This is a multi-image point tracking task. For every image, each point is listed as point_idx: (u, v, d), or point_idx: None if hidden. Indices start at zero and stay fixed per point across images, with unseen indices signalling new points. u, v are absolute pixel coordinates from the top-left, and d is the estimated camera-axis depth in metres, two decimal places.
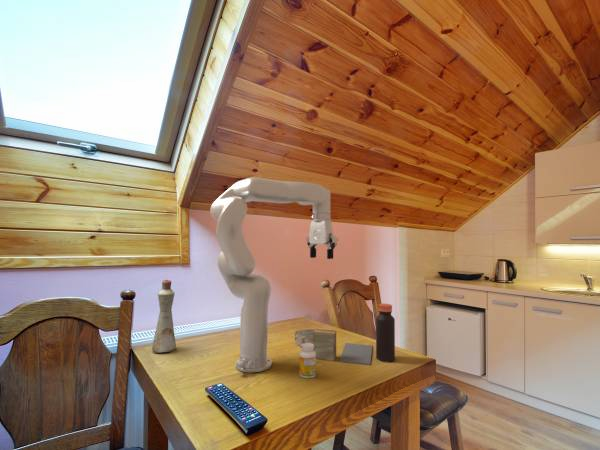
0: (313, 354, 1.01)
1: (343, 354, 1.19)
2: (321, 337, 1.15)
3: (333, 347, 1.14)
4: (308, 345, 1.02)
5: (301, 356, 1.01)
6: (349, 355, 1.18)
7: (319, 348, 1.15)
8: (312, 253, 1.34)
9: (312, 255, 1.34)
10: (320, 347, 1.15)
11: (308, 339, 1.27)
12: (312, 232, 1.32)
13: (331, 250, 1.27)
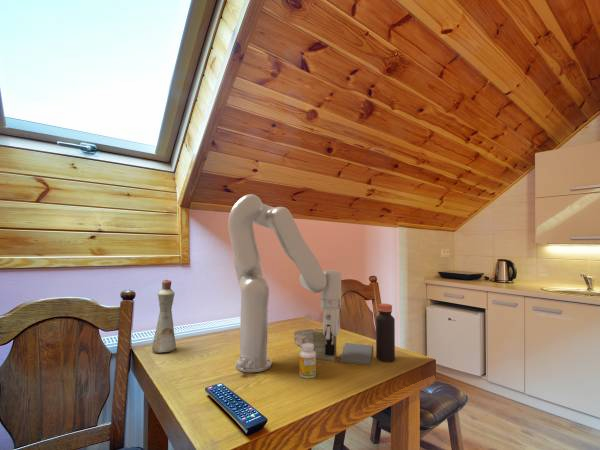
0: (313, 354, 1.01)
1: (343, 354, 1.19)
2: (321, 337, 1.15)
3: None
4: (308, 345, 1.02)
5: (301, 356, 1.01)
6: (349, 355, 1.18)
7: (319, 348, 1.15)
8: None
9: None
10: (320, 347, 1.15)
11: (309, 339, 1.27)
12: (337, 322, 1.14)
13: None
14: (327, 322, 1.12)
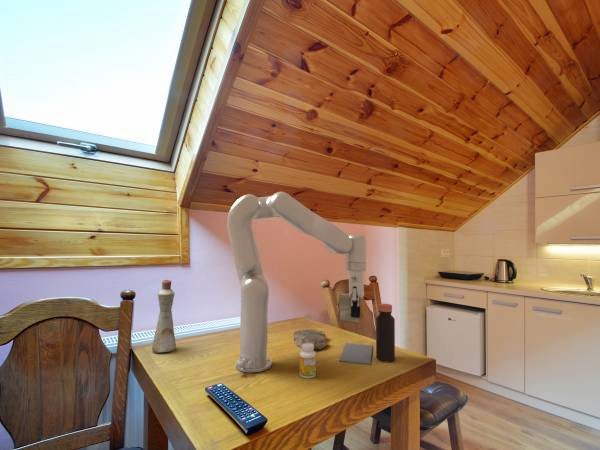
0: (313, 354, 1.01)
1: (343, 354, 1.19)
2: (347, 300, 1.17)
3: None
4: (308, 345, 1.02)
5: (301, 356, 1.01)
6: (349, 355, 1.18)
7: (345, 310, 1.17)
8: None
9: None
10: (346, 309, 1.16)
11: (309, 339, 1.27)
12: (362, 284, 1.15)
13: None
14: (353, 284, 1.13)
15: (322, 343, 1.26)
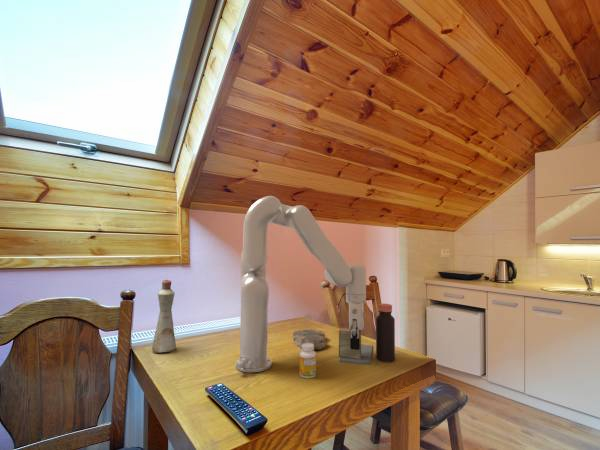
0: (313, 354, 1.01)
1: None
2: (347, 335, 1.16)
3: (359, 345, 1.15)
4: (308, 345, 1.02)
5: (301, 356, 1.01)
6: None
7: (345, 346, 1.16)
8: None
9: None
10: (346, 345, 1.16)
11: (308, 339, 1.26)
12: (362, 316, 1.14)
13: None
14: (353, 316, 1.13)
15: (322, 343, 1.26)
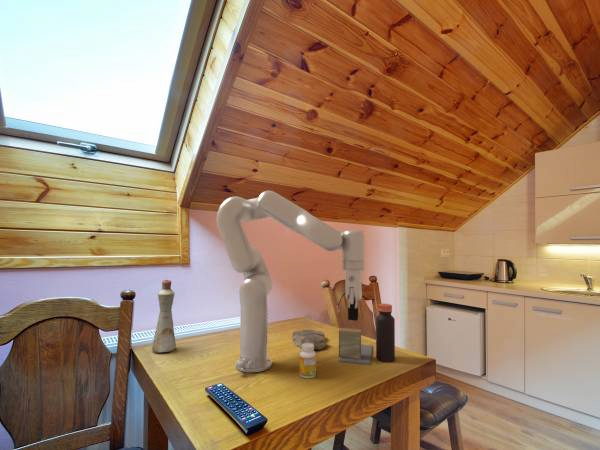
0: (313, 354, 1.01)
1: None
2: (347, 335, 1.16)
3: (359, 345, 1.15)
4: (308, 345, 1.02)
5: (301, 356, 1.01)
6: None
7: (345, 346, 1.16)
8: None
9: None
10: (346, 345, 1.16)
11: (309, 339, 1.26)
12: (360, 285, 1.04)
13: None
14: (350, 284, 1.03)
15: (322, 343, 1.26)
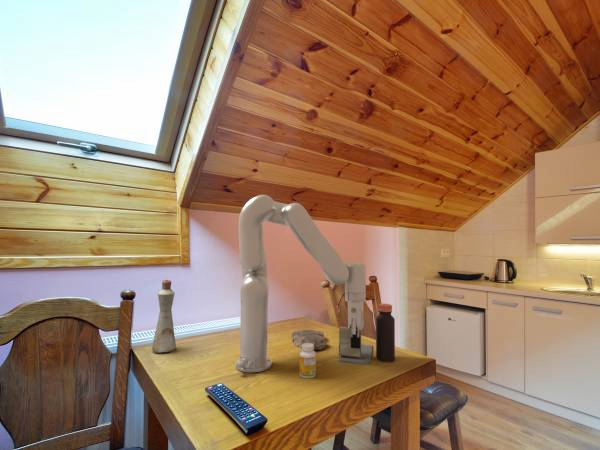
0: (313, 354, 1.01)
1: None
2: (347, 333, 1.17)
3: None
4: (308, 345, 1.02)
5: (301, 356, 1.01)
6: None
7: (345, 344, 1.16)
8: None
9: None
10: (346, 343, 1.16)
11: (309, 339, 1.26)
12: (362, 316, 1.11)
13: None
14: (352, 316, 1.09)
15: (322, 343, 1.26)
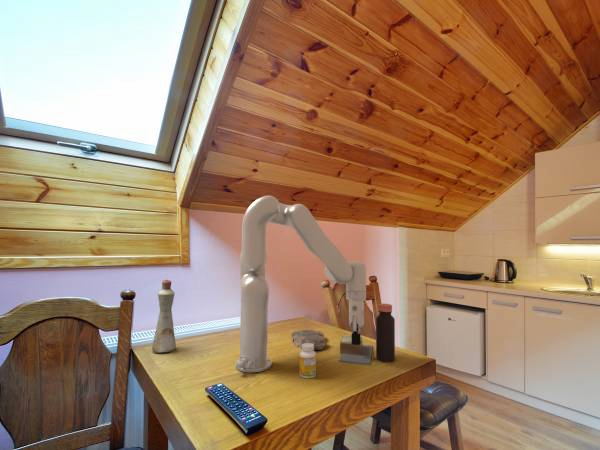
0: (313, 354, 1.01)
1: (343, 354, 1.19)
2: (350, 336, 1.28)
3: None
4: (308, 345, 1.02)
5: (301, 356, 1.01)
6: (349, 355, 1.18)
7: (347, 339, 1.24)
8: None
9: None
10: (348, 339, 1.24)
11: (309, 339, 1.26)
12: (362, 313, 1.15)
13: None
14: (353, 313, 1.13)
15: (322, 343, 1.26)
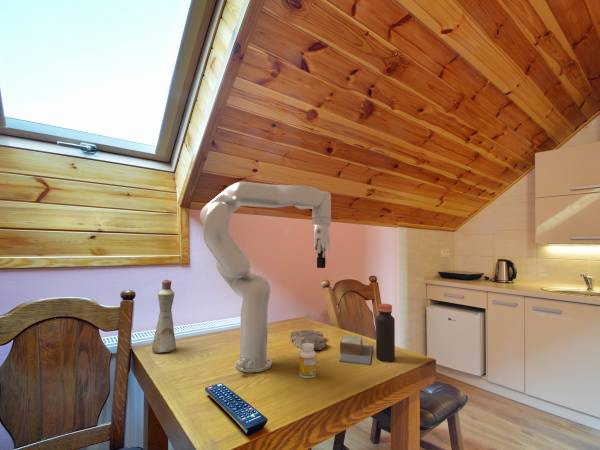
0: (313, 354, 1.01)
1: (343, 354, 1.19)
2: (350, 336, 1.28)
3: (360, 340, 1.23)
4: (308, 345, 1.02)
5: (301, 356, 1.01)
6: (349, 355, 1.18)
7: (347, 339, 1.24)
8: None
9: None
10: (348, 339, 1.24)
11: (309, 340, 1.26)
12: (326, 237, 1.22)
13: None
14: (317, 236, 1.21)
15: (322, 343, 1.26)
